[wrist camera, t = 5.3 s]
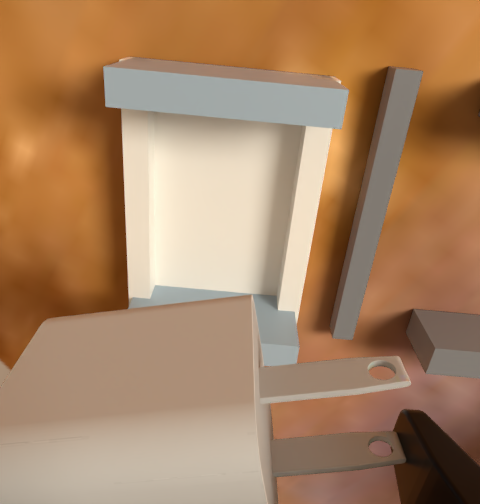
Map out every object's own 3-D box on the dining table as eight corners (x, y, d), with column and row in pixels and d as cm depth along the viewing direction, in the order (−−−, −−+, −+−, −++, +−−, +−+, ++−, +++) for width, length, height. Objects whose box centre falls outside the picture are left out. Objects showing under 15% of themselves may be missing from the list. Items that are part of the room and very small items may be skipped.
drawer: (292, 313, 22) (300, 368, 19) (136, 300, 22) (114, 352, 19) (334, 76, 17) (355, 90, 13) (129, 56, 17) (97, 65, 13)
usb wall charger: (54, 304, 10) (-56, 472, 6) (375, 265, 9) (461, 426, 5) (107, 428, 11) (47, 612, 8) (374, 402, 11) (438, 587, 7)
